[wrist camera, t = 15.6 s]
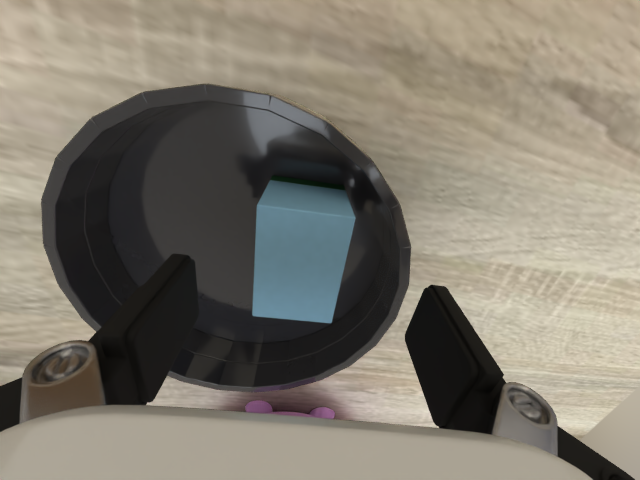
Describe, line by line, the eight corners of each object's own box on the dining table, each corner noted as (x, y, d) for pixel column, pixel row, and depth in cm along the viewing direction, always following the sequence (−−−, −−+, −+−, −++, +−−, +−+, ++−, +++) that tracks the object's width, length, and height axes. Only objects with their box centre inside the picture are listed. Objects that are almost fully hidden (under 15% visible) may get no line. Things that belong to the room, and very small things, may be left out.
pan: (117, 16, 13) (30, -21, 9) (446, 174, 17) (487, 197, 13) (97, 303, 21) (46, 351, 17) (322, 364, 25) (324, 414, 21)
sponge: (272, 174, 16) (256, 204, 12) (344, 185, 16) (356, 217, 12) (266, 265, 19) (251, 316, 15) (327, 272, 19) (331, 324, 15)
